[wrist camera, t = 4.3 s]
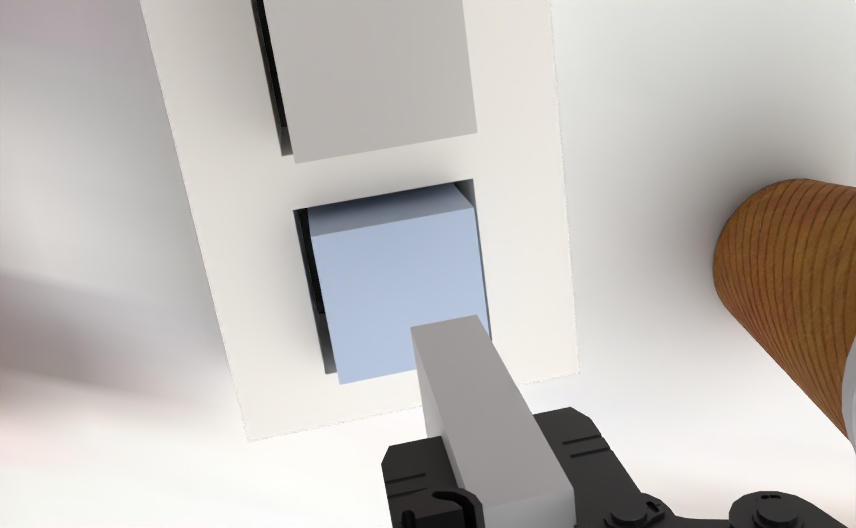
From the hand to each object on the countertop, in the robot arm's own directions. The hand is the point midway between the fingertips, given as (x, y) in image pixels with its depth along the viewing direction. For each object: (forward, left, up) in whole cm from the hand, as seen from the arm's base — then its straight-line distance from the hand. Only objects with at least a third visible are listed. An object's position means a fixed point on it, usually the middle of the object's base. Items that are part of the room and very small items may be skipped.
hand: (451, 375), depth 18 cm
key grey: (0, -7, -10) cm, 12 cm away
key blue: (0, 0, -12) cm, 12 cm away
